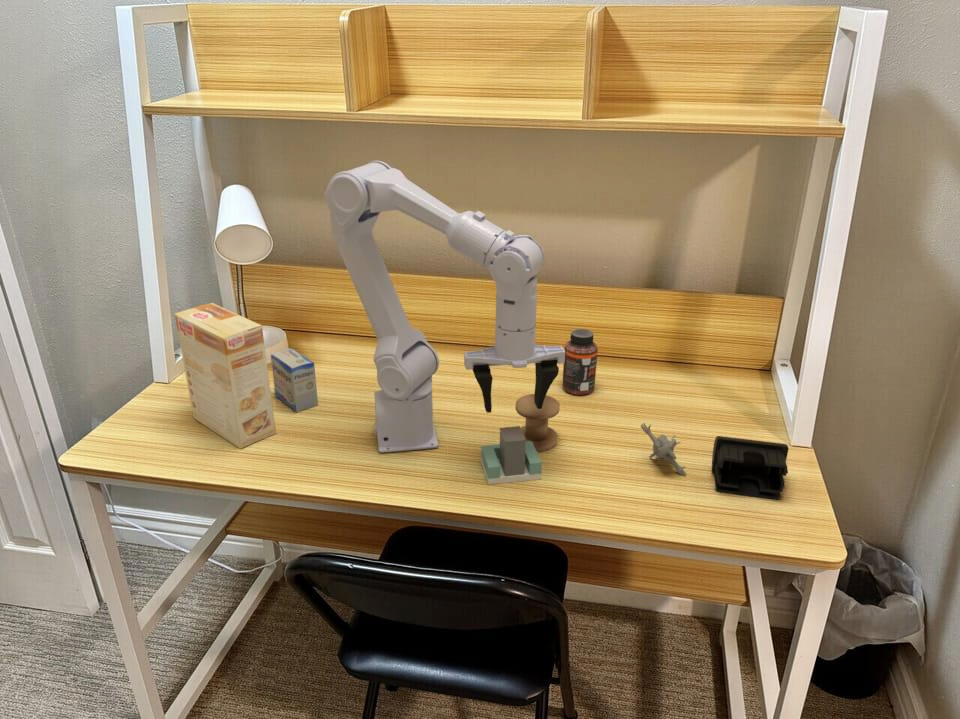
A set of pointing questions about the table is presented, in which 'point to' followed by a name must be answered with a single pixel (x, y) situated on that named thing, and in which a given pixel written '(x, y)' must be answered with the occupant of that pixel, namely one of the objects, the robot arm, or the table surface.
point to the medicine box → (294, 379)
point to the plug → (512, 451)
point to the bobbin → (538, 421)
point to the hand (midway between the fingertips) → (513, 407)
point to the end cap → (749, 467)
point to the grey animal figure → (664, 448)
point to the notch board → (494, 468)
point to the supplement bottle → (580, 363)
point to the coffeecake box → (226, 373)
